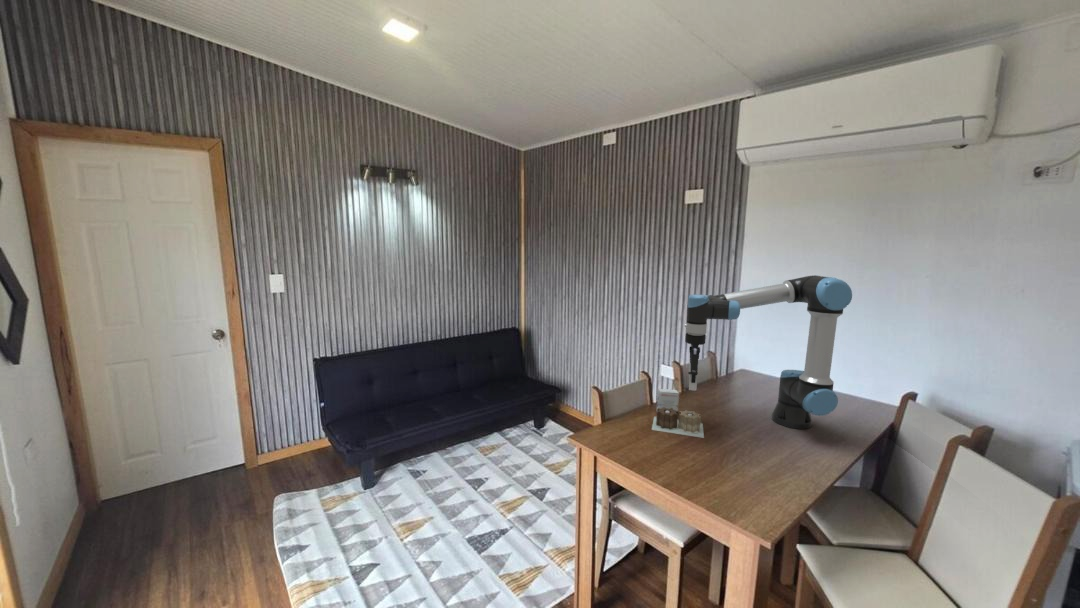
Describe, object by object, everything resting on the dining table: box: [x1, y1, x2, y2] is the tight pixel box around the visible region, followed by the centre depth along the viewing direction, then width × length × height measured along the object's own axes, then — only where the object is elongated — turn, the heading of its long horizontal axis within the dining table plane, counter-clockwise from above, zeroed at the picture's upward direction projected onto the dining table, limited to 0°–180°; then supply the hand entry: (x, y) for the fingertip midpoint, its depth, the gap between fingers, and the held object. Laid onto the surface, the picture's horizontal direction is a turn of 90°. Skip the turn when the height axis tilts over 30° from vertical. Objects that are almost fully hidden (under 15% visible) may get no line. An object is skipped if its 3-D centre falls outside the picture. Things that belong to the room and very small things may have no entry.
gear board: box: [651, 411, 705, 439], centre depth 175 cm, size 20×14×7 cm
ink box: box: [655, 388, 680, 412], centre depth 188 cm, size 9×5×12 cm, turn 84°
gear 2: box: [678, 409, 702, 433], centre depth 173 cm, size 8×8×6 cm
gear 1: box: [656, 407, 679, 429], centre depth 176 cm, size 8×8×6 cm
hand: (692, 384), depth 171 cm, fingers open, 13 cm apart
